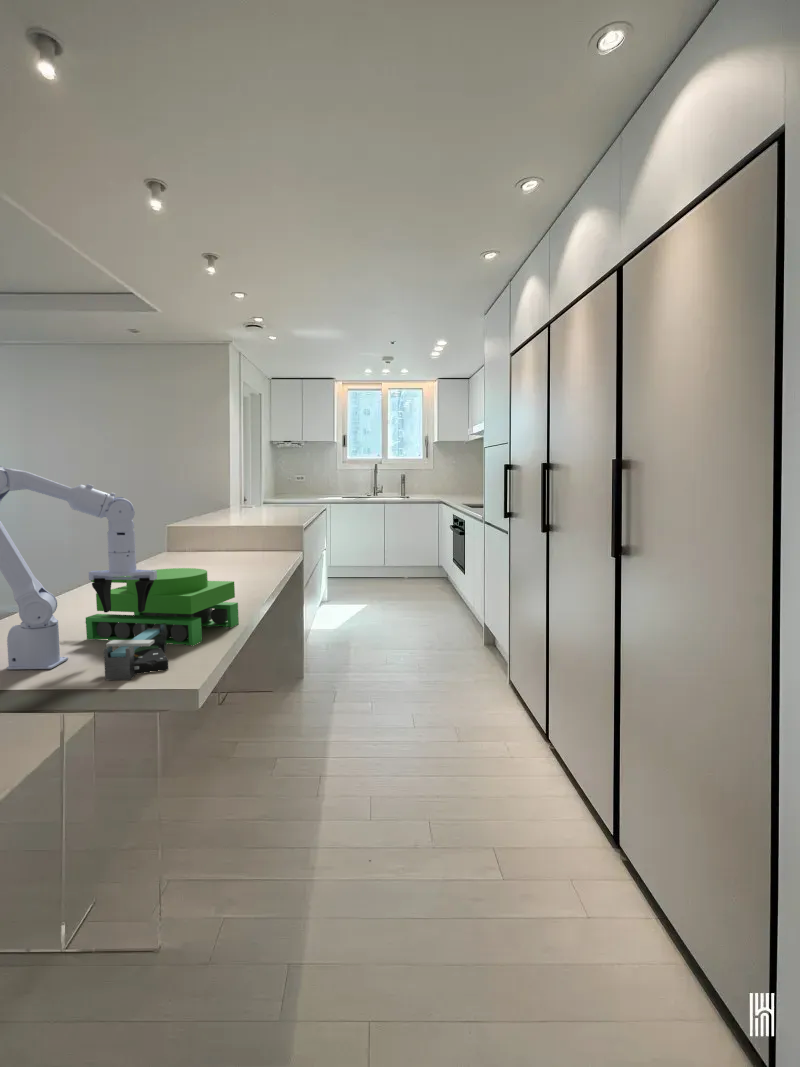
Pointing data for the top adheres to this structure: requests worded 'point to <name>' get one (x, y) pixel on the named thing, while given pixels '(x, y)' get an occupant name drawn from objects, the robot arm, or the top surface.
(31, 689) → the top surface
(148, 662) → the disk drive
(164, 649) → the hinge bracket
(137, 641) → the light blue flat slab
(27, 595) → the robot arm
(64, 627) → the top surface
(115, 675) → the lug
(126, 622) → the tank
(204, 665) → the top surface
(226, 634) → the top surface
